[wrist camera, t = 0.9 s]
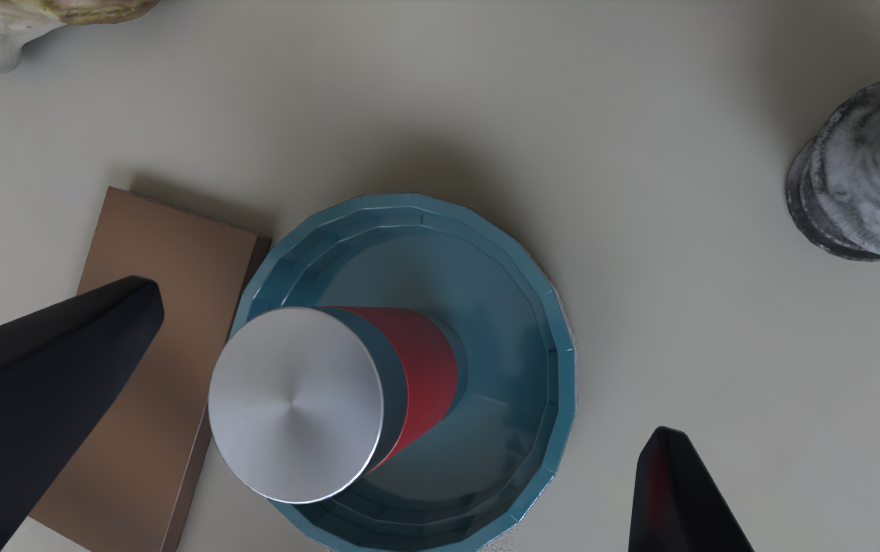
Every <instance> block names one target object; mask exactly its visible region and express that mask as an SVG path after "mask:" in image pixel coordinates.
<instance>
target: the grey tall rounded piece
mask: <svg viewBox="0 0 880 552" xmlns="http://www.w3.org/2000/svg"><path fill="white" fill-rule="evenodd" d="M786 198H787V203H788V208H789V212H790V214H791V216H792V218H793V220H794V222H795V224H796V226H797V227H798V229H799V230H800V231H801V232H802V233H803V234H804V235H805V236H806V237H807V238H808V239H809V241H810V242H811V243H813V244H815V245H816V246H818V247H819V248H821V249H823V250H824V251H826V252H828V253H829V254H832V255H836V256H839V257H842V258H845V259H848V260H856V261H867V262H873V261H880V81H879V82H877V83H874V84H872V85H870V86H868V87H865V88H863V89H861V90H859V91H858V92H857V93H855V94H854V95H853V96H851V97H850V98H849V99H848V100H846V101H845V102H844V103H842V104H841V105H840V106H838V107H837V108H836V110H835V111H834V112H833V113H832V115H831V116H830V117H829V119H828V120H827V121H826V122H825V124H824V125H823V126H822V128H821V130H820V132H819V135H818V136H816V137H815V138H814V139H813V140H811V141H810V142H809V143H807V144H806V145H805V147H804V148H803V149H802V151H801V152H800V153H799V154H798V156H797V157H796V158H795V160H794V162H793V165H792V167H791V169H790V172H789V174H788V178H787V188H786Z"/></svg>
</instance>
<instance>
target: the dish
mask: <svg viewBox="0 0 880 552" xmlns="http://www.w3.org/2000/svg"><path fill="white" fill-rule="evenodd" d="M287 306H308V307H319V306H351V307H391V308H404V309H418V310H423V311H426V312H429V313H431V314H434V315H435V316H437V317H439V318H441V319H442V320H443V321H444V322H446V323H447V324H448V325H449V326H450V327H451V328H452V329H453V331H454V332H455V333H456V335H457V336H458V338H459V340H460V341H461V344H462V346H463V348H464V351H465V355H466V360H467V382H466V386H465V390H464V393H463V395H462V398H461V399H460V401H459V403H458V405H457V406H456V407H455V409H454V410H453V411H452V412H451V413H450V414H449V415H448V416H447V417H446V418H445V419H443V420H442V421H441V422H439V423H438V424H437V425H436V426H434V427H433V428H432V429H430V430H429V431H428V432H426V433H425V434H424V435H422V436H421V437H419V438H418V439H417V440H415V441H414V442H412V443H411V444H410V445H408V446H407V447H405V448H404V449H402V450H401V451H400V452H398V453H397V454H395V455H394V456H393V457H391V458H390V459H388V460H387V461H386V462H384V463H383V464H381V465H380V466H379V467H377V468H376V469H374V470H373V471H371V472H370V473H368V474H366V475H364V476H363V477H361V478H360V479H358V480H357V481H356V482H354V483H353V484H351V485H350V486H348V487H347V488H346V489H344V490H343V491H341V492H339V493H338V494H336V495H334V496H332V497H330V498H327V499H325V500H322V501H318V502H314V503H309V504H289V503H283V502H278V501H274V500H272V499H269V498H267V500H268V501H269V502H270V503H271V504H272V505H273V506H274V507H276V508H277V509H278V510H279V511H280V512H281V513H282V514H283V515H284V516H285V517H286V518H287V519H288V520H289V521H290V522H291V523H292V524H293V525H294V526H295V527H297V528H298V529H299V530H300V531H301V532H302V533H303V534H304V535H305V536H306V537H307V536H308V538H309V539H312V540H314V541H316V542H318V543H320V544H322V545H324V546H326V547H328V548H330V549H332V550H334V551H336V552H476V551H478V550H479V549H481V548H482V547H484V546H485V545H487V544H488V543H490V542H491V541H493V540H495V539H496V538H498V537H499V536H501V535H502V534H504V533H505V532H507V531H508V530H510V529H511V528H513V527H515V526H516V525H518V523H519V522H521V520H522V519H523V518H524V516H525V515H526V514H527V512H528V511H529V510H530V508H531V507H532V506H533V505H534V503H535V502H536V501H537V499H538V498H539V497H540V495H541V494H542V493H543V491H544V490H545V489H546V487H547V486H548V485H549V483H550V482H551V481H552V479H553V478H554V477H555V474H556V473H557V471H558V467H559V464H560V461H561V458H562V455H563V452H564V449H565V446H566V442H567V439H568V436H569V433H570V430H571V427H572V424H573V421H574V418H575V413H576V408H577V402H578V372H577V346H576V345H577V343H576V341H575V338H574V335H573V332H572V329H571V326H570V323H569V320H568V317H567V314H566V312H565V309H564V306H563V303H562V300H561V297H560V294H559V293H558V291H557V289H556V288H555V287H554V285H553V284H552V283H551V281H550V280H549V279H548V277H547V276H546V275H545V273H544V272H543V271H542V269H541V268H540V267H539V265H538V264H537V263H536V261H535V260H534V259H533V257H532V256H531V255H530V254H529V252H528V251H527V250H526V249H525V248H524V247H523V246H522V245H521V244H520V243H519V242H518V241H517V240H516V239H514V238H513V237H511V236H510V235H508V234H507V233H505V232H504V231H502V230H501V229H500V228H498V227H497V226H495V225H494V224H492V223H491V222H489V221H488V220H486V219H485V218H484V217H482V216H481V215H479V214H478V213H476V212H475V211H473V210H472V209H470V208H468V207H466V206H462V205H459V204H455V203H451V202H448V201H444V200H441V199H437V198H434V197H430V196H426V195H423V194H419V193H413V192H410V193H393V194H375V195H362V196H358V197H356V198H353V199H351V200H348V201H346V202H343V203H341V204H338V205H336V206H333V207H331V208H328V209H326V210H323V211H321V212H318V213H316V214H313V216H312V215H311V216H310V217H309V218H308V219H306V220H305V221H304V222H303V223H302V224H300V225H299V226H298V227H297V228H295V229H294V230H293V231H292V232H291V233H289V234H288V235H287V236H286V237H285V238H283V239H282V240H281V241H280V242H279V243H277V244H276V245H275V246H274V247H273V248H272V249H271V250H270V252H269V253H268V255H267V256H266V258H265V259H264V261H263V262H262V264H261V265H260V267H259V268H258V270H257V272H256V273H255V275H254V276H253V278H252V279H251V281H250V282H249V284H248V285H247V287H246V288H245V290H244V291H243V294H242V297H241V300H240V303H239V306H238V310H237V313H236V316H235V319H234V323H233V326H232V329H231V332H230V336H229V339H230V338H231V337H232V336H233V335H234V333H235V332H236V331H237V330H238V329H239V328H241V327H242V326H243V325H244V324H245V323H246V322H248V321H249V320H251V319H252V318H254V317H256V316H258V315H260V314H262V313H264V312H266V311H269V310H273V309H276V308H281V307H287ZM229 339H228V340H229Z"/></svg>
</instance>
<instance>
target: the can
mask: <svg viewBox="0 0 880 552" xmlns="http://www.w3.org/2000/svg"><path fill="white" fill-rule="evenodd" d="M466 382H467V360H466V355H465V351H464V348H463V346H462V344H461V341H460V340H459V338H458V336H457V335H456V333H455V332H454V331H453V329H452V328H451V327H450V326H449V325H448V324H447V323H446V322H444V321H443V320H442V319H441V318H439V317H437V316H435V315H434V314H431V313H429V312H426V311H423V310H418V309H404V308H391V307H351V306H319V307H308V306H287V307H281V308H276V309H273V310H269V311H266V312H264V313H262V314H260V315H258V316H256V317H254V318H252V319H251V320H249V321H248V322H246V323H245V324H244V325H243V326H242V327H241V328H239V329H238V330H237V331H236V332H235V333H234V335H233V336H232V337H231V338H230V339H229V340H228V342H227V343H226V345H225V346H224V348H223V349H222V351H221V353H220V355H219V357H218V359H217V361H216V364H215V367H214V369H213V372H212V376H211V380H210V386H209V394H208V412H209V421H210V426H211V431H212V434H213V437H214V440H215V443H216V446H217V448H218V450H219V452H220V454H221V456H222V458H223V459H224V461H225V463H226V464H227V466H228V467H229V468H230V470H231V471H232V472H233V473H234V475H235V476H236V477H237V478H238V479H239V480H240V481H242V482H243V483H244V484H245V485H246V486H248V487H249V488H250V489H252V490H253V491H255V492H257V493H258V494H260V495H262V496H264V497H266V498H269V499H272V500H274V501H278V502H283V503H289V504H309V503H314V502H318V501H322V500H325V499H327V498H330V497H332V496H334V495H336V494H338V493H339V492H341V491H343V490H344V489H346V488H347V487H348V486H350V485H351V484H353V483H354V482H356V481H357V480H358V479H360V478H361V477H363V476H364V475H366V474H368V473H370V472H371V471H373V470H374V469H376V468H377V467H379V466H380V465H381V464H383V463H384V462H386V461H387V460H388V459H390V458H391V457H393V456H394V455H395V454H397V453H398V452H400V451H401V450H402V449H404V448H405V447H407V446H408V445H410V444H411V443H412V442H414V441H415V440H417V439H418V438H419V437H421V436H422V435H424V434H425V433H426V432H428V431H429V430H430V429H432V428H433V427H434V426H436V425H437V424H438V423H439V422H441V421H442V420H443V419H445V418H446V417H447V416H448V415H449V414H450V413H451V412H452V411H453V410H454V409H455V407H456V406H457V405H458V403H459V401H460V399H461V398H462V395H463V393H464V390H465V386H466Z"/></svg>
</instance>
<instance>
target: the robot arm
mask: <svg viewBox="0 0 880 552" xmlns="http://www.w3.org/2000/svg"><path fill="white" fill-rule="evenodd" d="M164 318H165V310H164V306H163V302H162V298H161V294H160V289H159V286H158V284H157V282H156V281H155V280H153V279H150V278H146V277H143V276H139V275H130V276H127V277H124V278H122V279H119V280H116V281H114V282H111V283H109V284H106V285H103V286H101V287H98V288H96V289H93V290H91V291H88V292H85V293H83V294H80V295H78V296H75V297H72V298H70V299H67V300H65V301H62V302H60V303H57V304H54V305H52V306H49V307H47V308H44V309H41V310H39V311H36V312H34V313H31V314H29V315H26V316H23V317H21V318H18V319H16V320H13V321H11V322H8V323H5V324H3V325H0V551H1V550H2V549H3V547H4V546H5V545H6V543H7V542H8V541H9V539H10V538H11V537H12V536H13V534H14V533H15V532H16V530H17V529H18V528H19V526H20V525H21V524H22V522H23V521H24V520H25V518H26V517H27V516H28V515H29V513H30V512H31V511H32V509H33V508H34V507H35V505H36V504H37V503H38V501H39V500H40V499H41V497H42V496H43V495H44V494H45V492H46V491H47V490H48V488H49V487H50V486H51V484H52V483H53V482H54V480H55V479H56V478H57V476H58V475H59V474H60V473H61V471H62V470H63V469H64V467H65V466H66V465H67V463H68V462H69V461H70V459H71V458H72V457H73V455H74V454H75V453H76V452H77V450H78V449H79V448H80V446H81V445H82V444H83V442H84V441H85V440H86V438H87V437H88V436H89V434H90V433H91V432H92V431H93V429H94V428H95V427H96V425H97V424H98V423H99V421H100V420H101V419H102V417H103V416H104V415H105V413H106V412H107V411H108V410H109V408H110V407H111V406H112V404H113V403H114V401H115V400H116V399H117V397H118V396H119V395H120V393H121V392H122V390H123V388H124V387H125V385H126V384H127V382H128V381H129V379H130V377H131V376H132V374H133V372H134V371H135V369H136V367H137V366H138V364H139V363H140V361H141V359H142V358H143V356H144V354H145V353H146V351H147V349H148V348H149V346H150V344H151V343H152V341H153V339H154V338H155V336H156V335H157V333H158V331H159V330H160V328H161V326H162V324H163V322H164ZM628 552H755V551H754V550H753V548H752V546H751V544H750V543H749V541H748V539H747V538H746V536H745V534H744V532H743V531H742V529H741V527H740V526H739V524H738V522H737V520H736V519H735V517H734V515H733V513H732V512H731V510H730V508H729V507H728V505H727V503H726V501H725V500H724V498H723V496H722V495H721V493H720V491H719V489H718V488H717V486H716V484H715V482H714V481H713V479H712V477H711V476H710V474H709V472H708V470H707V469H706V467H705V465H704V464H703V462H702V460H701V458H700V457H699V455H698V453H697V451H696V450H695V448H694V446H693V445H692V443H691V441H690V439H689V438H688V436H687V435H686V434H685V433H684V432H682V431H679V430H676V429H672V428H669V427H665V426H659V427H658V428H656V430H655V431H654V433H653V434H652V436H651V437H650V439H649V441H648V442H647V444H646V445H645V447H644V448H643V450H642V452H641V453H640V456H639V459H638V463H637V470H636V479H635V489H634V498H633V508H632V517H631V527H630V536H629V547H628Z"/></svg>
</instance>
